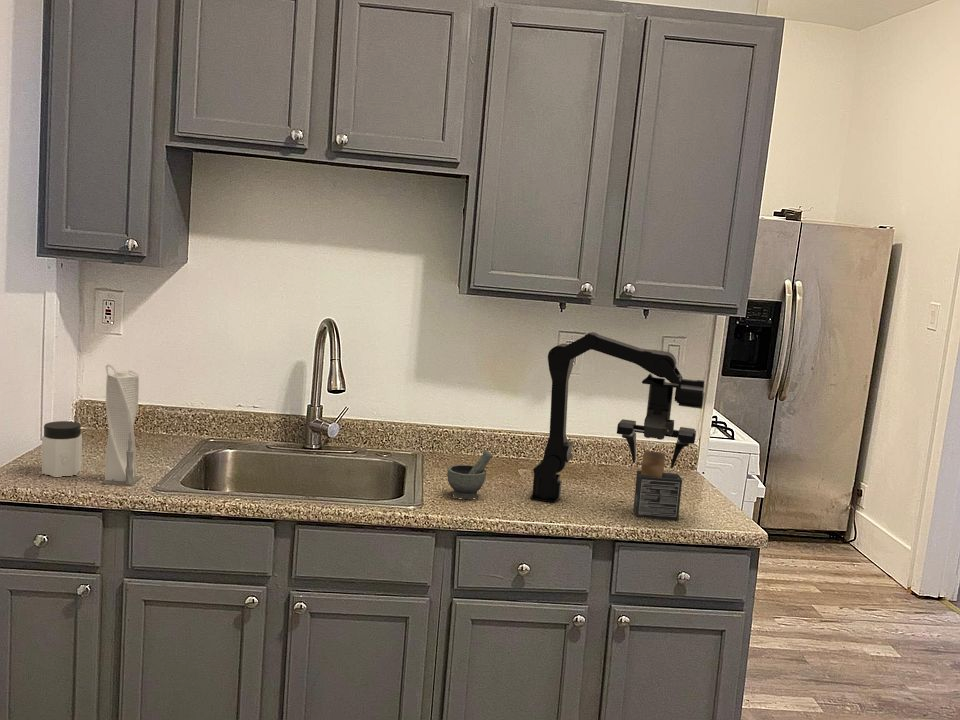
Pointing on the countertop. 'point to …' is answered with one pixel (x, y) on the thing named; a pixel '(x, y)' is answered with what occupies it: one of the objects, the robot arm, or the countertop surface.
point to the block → (653, 464)
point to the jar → (61, 448)
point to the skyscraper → (121, 427)
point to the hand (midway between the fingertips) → (652, 465)
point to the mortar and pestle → (468, 477)
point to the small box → (657, 496)
